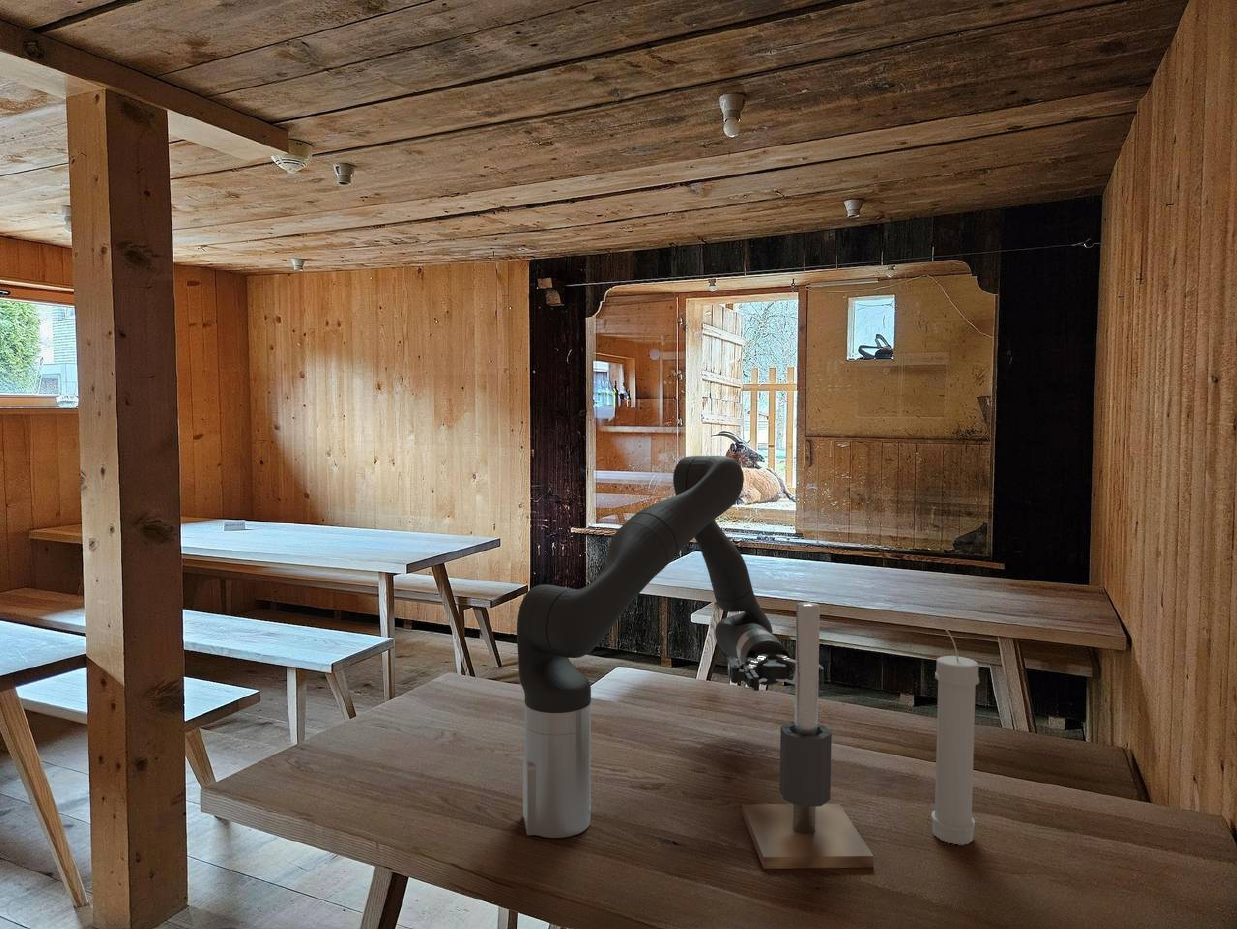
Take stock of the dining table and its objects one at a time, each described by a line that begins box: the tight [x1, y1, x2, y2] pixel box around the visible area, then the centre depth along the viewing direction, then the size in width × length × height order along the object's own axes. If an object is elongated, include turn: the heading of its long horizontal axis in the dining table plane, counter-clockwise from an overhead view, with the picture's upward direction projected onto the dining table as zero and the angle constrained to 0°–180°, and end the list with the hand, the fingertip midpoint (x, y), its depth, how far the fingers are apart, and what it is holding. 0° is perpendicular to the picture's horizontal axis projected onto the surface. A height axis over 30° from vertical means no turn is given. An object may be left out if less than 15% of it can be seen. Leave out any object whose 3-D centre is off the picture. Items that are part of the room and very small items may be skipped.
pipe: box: [930, 617, 980, 846], centre depth 108 cm, size 6×6×30 cm
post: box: [742, 602, 874, 870], centre depth 107 cm, size 14×14×32 cm
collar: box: [779, 720, 833, 807], centre depth 107 cm, size 6×6×9 cm
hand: (785, 685), depth 118 cm, fingers open, 8 cm apart
